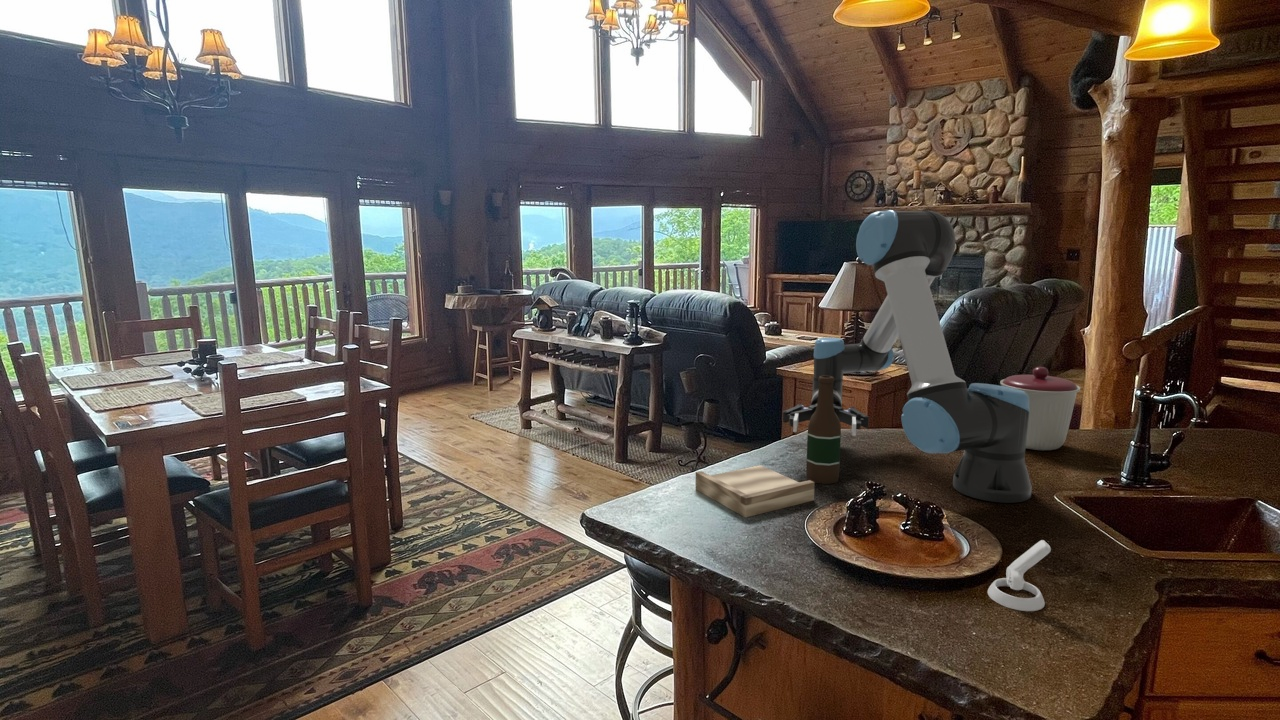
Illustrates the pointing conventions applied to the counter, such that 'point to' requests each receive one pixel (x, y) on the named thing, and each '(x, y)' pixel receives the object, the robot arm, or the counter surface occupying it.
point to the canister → (1046, 407)
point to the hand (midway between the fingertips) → (824, 428)
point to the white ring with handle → (1021, 581)
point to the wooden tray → (754, 490)
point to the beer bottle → (824, 437)
